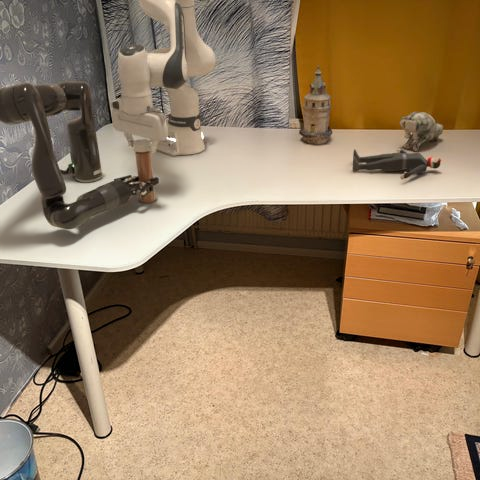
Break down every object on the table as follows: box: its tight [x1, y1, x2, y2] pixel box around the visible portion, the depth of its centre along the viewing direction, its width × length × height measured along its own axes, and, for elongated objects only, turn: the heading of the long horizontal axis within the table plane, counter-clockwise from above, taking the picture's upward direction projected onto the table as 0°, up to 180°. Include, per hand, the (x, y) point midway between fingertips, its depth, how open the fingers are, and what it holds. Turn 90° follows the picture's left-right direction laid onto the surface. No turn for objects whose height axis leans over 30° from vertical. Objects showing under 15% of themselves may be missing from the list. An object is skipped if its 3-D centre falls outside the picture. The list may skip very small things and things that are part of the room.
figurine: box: [399, 111, 444, 152], centre depth 210 cm, size 10×19×20 cm
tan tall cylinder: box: [134, 151, 156, 204], centre depth 168 cm, size 5×5×18 cm
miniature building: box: [298, 65, 333, 145], centre depth 213 cm, size 13×14×30 cm
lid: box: [132, 138, 152, 152], centre depth 164 cm, size 5×5×2 cm
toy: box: [352, 148, 442, 180], centre depth 190 cm, size 26×6×30 cm
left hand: (152, 178), depth 171 cm, fingers closed on tan tall cylinder, 4 cm apart
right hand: (142, 149), depth 164 cm, fingers open, 7 cm apart
